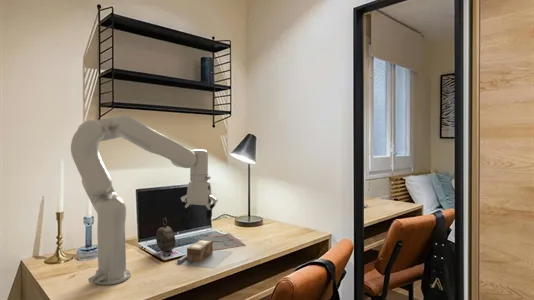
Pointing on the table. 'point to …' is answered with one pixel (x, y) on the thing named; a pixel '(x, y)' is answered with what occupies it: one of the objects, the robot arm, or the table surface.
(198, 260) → the brown cardboard box
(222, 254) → the wall board
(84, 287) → the table surface
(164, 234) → the alarm clock
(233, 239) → the picture frame
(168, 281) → the table surface
